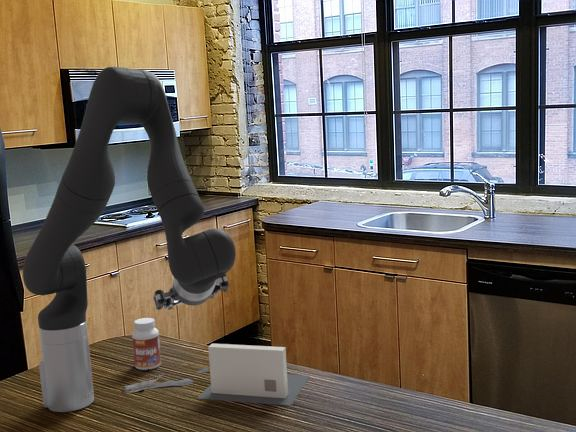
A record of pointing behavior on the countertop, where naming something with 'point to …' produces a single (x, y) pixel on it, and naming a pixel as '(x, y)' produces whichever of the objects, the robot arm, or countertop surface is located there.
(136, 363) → the pill bottle
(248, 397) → the rubber mat
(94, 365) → the countertop surface
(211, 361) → the flat white box
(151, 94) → the robot arm
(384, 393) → the countertop surface
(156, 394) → the countertop surface
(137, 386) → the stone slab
